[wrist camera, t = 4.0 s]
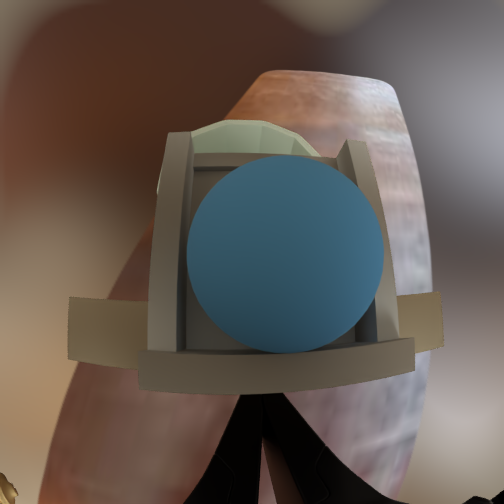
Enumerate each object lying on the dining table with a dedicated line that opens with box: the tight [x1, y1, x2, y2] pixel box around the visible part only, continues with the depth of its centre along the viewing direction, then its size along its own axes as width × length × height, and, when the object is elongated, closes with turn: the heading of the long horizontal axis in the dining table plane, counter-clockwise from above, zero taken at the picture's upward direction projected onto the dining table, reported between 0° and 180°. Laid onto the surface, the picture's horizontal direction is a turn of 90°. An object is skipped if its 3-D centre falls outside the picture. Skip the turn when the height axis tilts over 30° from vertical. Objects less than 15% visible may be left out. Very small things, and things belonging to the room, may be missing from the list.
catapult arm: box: [68, 132, 444, 395], centre depth 10 cm, size 5×10×11 cm, turn 92°
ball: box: [187, 155, 384, 353], centre depth 4 cm, size 3×3×3 cm
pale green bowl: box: [157, 120, 321, 194], centre depth 20 cm, size 11×11×6 cm
